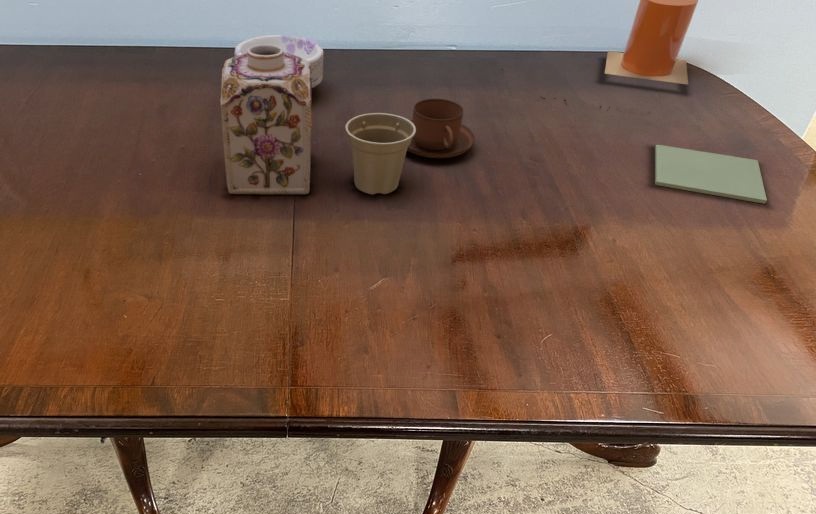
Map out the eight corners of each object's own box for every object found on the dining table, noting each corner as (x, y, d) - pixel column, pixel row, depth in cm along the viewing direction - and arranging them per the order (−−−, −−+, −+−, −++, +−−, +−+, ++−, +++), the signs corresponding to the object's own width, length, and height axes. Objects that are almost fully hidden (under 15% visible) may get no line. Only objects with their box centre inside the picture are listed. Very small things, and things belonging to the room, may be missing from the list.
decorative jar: (226, 196, 93) (214, 66, 81) (233, 155, 101) (223, 33, 89) (312, 196, 93) (313, 66, 81) (312, 155, 101) (313, 33, 89)
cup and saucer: (489, 152, 102) (496, 114, 98) (427, 173, 97) (433, 134, 93) (437, 123, 110) (443, 86, 105) (378, 141, 105) (381, 103, 101)
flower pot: (353, 163, 100) (356, 108, 94) (415, 174, 97) (422, 117, 91) (334, 195, 93) (336, 137, 87) (400, 206, 91) (407, 148, 85)
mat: (756, 163, 99) (757, 160, 99) (765, 204, 91) (767, 200, 90) (654, 147, 103) (656, 144, 103) (654, 185, 95) (656, 181, 94)
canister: (672, 61, 125) (697, -8, 117) (672, 79, 119) (699, 7, 111) (621, 55, 128) (642, -13, 120) (619, 72, 121) (641, 1, 113)
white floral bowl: (331, 80, 123) (332, 36, 117) (311, 116, 112) (311, 68, 106) (252, 73, 125) (249, 29, 120) (225, 106, 114) (221, 60, 109)
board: (683, 68, 126) (686, 60, 125) (685, 92, 118) (688, 84, 117) (605, 58, 130) (607, 50, 129) (602, 81, 122) (604, 73, 121)
